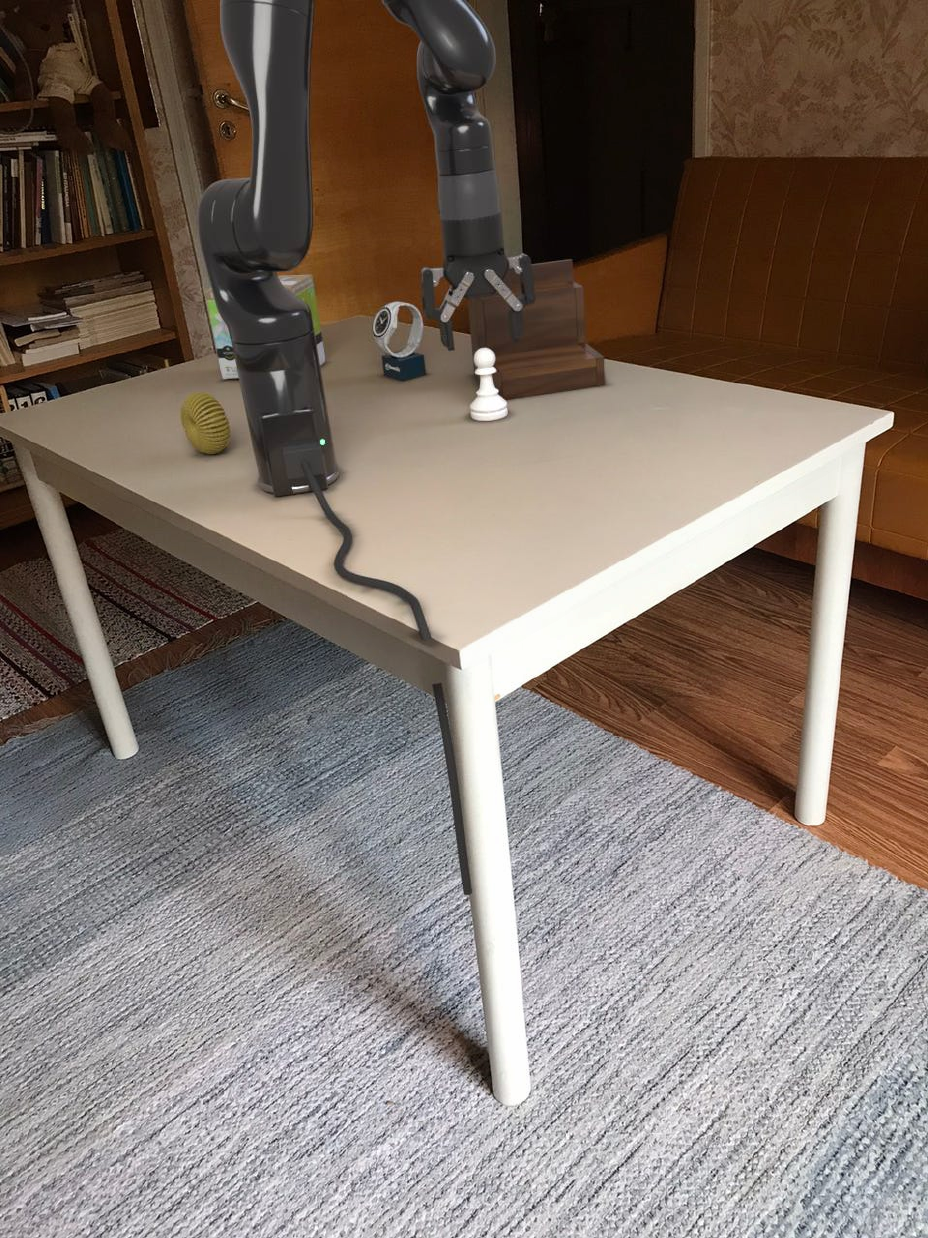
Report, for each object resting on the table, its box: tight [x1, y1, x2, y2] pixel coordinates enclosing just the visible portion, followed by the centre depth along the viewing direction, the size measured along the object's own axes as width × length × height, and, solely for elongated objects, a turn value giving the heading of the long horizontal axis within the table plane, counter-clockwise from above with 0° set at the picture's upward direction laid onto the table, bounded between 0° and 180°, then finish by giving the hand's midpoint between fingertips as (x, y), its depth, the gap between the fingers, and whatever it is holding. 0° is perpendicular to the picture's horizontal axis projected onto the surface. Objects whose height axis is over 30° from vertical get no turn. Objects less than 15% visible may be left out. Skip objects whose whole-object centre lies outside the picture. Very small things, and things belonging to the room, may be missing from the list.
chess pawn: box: [469, 348, 509, 422], centre depth 133 cm, size 5×5×9 cm
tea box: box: [204, 273, 326, 380], centre depth 164 cm, size 15×10×15 cm
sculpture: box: [180, 392, 231, 455], centre depth 130 cm, size 8×4×8 cm, turn 44°
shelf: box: [466, 258, 606, 401], centre depth 144 cm, size 15×16×15 cm
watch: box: [371, 301, 427, 382], centre depth 155 cm, size 6×8×11 cm
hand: (482, 344), depth 131 cm, fingers open, 8 cm apart
